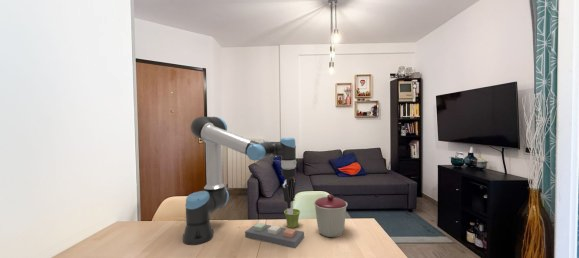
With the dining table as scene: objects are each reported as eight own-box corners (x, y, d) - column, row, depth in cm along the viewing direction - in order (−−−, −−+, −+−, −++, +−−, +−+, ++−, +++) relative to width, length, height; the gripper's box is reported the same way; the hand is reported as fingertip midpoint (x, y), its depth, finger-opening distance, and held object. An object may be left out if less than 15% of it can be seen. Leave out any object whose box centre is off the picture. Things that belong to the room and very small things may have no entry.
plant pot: (299, 230, 133) (298, 214, 133) (282, 228, 135) (282, 213, 135) (301, 223, 142) (301, 209, 142) (286, 222, 144) (286, 208, 144)
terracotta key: (283, 237, 120) (283, 231, 120) (287, 233, 125) (287, 228, 125) (292, 239, 118) (292, 233, 118) (296, 235, 123) (296, 229, 123)
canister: (343, 225, 138) (342, 189, 138) (352, 240, 120) (351, 199, 120) (312, 226, 138) (311, 190, 138) (316, 241, 120) (316, 200, 120)
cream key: (267, 234, 124) (267, 228, 124) (272, 230, 128) (272, 225, 128) (276, 236, 122) (276, 230, 122) (280, 232, 126) (280, 226, 126)
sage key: (253, 231, 128) (253, 226, 128) (258, 227, 132) (258, 222, 132) (261, 232, 126) (261, 227, 126) (266, 229, 130) (266, 224, 130)
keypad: (245, 237, 126) (245, 231, 126) (257, 228, 137) (257, 222, 137) (295, 248, 114) (294, 242, 114) (304, 237, 124) (304, 231, 124)
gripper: (290, 170, 113) (291, 219, 114) (300, 166, 125) (301, 210, 125) (276, 169, 117) (277, 217, 117) (287, 165, 128) (288, 208, 129)
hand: (290, 213), depth 121 cm, fingers closed
